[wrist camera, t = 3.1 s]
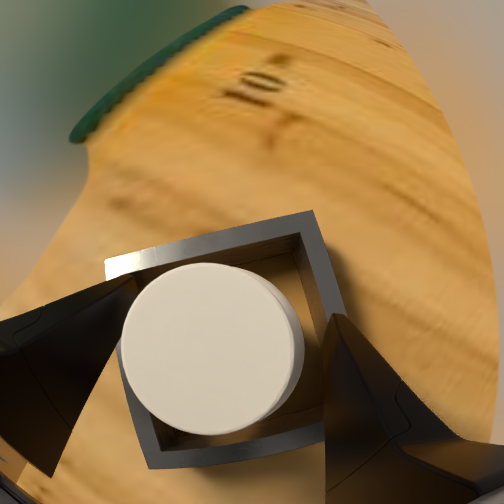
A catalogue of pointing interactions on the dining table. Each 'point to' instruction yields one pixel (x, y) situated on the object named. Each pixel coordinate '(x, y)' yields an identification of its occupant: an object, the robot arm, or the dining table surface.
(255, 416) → the supplement bottle
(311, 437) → the collar
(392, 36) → the dining table surface
